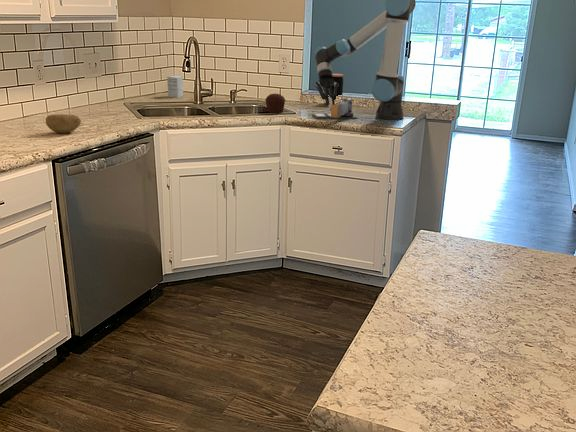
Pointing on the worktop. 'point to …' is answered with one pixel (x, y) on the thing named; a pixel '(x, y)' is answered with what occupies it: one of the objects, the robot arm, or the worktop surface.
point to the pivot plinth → (348, 116)
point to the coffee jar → (338, 79)
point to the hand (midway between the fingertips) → (331, 109)
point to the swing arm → (341, 108)
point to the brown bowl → (63, 123)
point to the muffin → (275, 103)
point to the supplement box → (175, 86)
